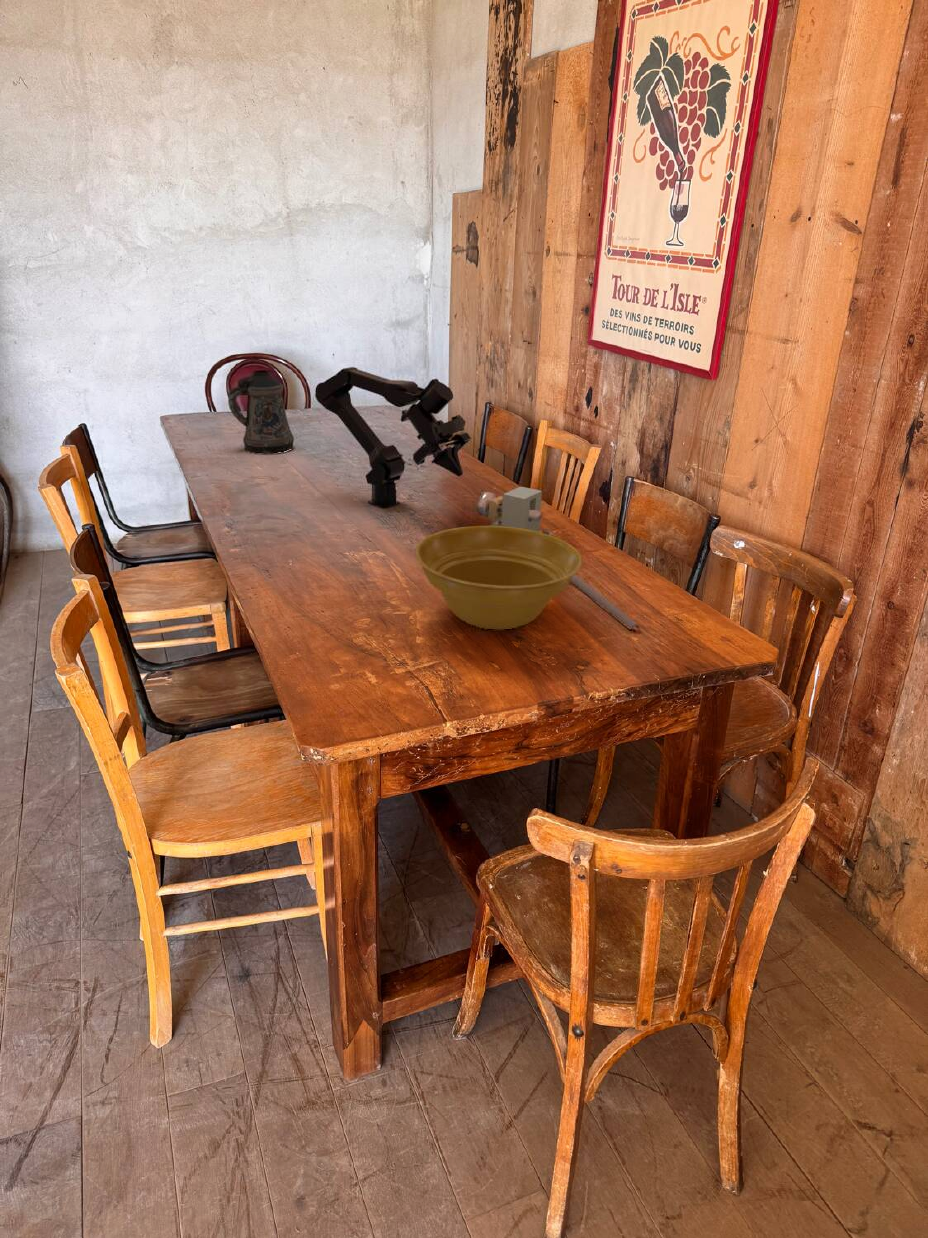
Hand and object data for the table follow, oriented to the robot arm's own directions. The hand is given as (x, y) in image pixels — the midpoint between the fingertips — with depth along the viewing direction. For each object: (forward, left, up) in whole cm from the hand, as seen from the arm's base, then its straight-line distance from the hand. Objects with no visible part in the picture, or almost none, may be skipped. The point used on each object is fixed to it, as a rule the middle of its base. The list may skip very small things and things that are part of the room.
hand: (461, 475), depth 213 cm
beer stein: (-94, +6, -13) cm, 96 cm away
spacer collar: (+11, +2, -9) cm, 15 cm away
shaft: (+15, +3, -9) cm, 18 cm away
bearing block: (+18, +3, -12) cm, 22 cm away
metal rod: (+56, -16, -13) cm, 59 cm away
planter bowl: (+45, -36, -13) cm, 59 cm away
